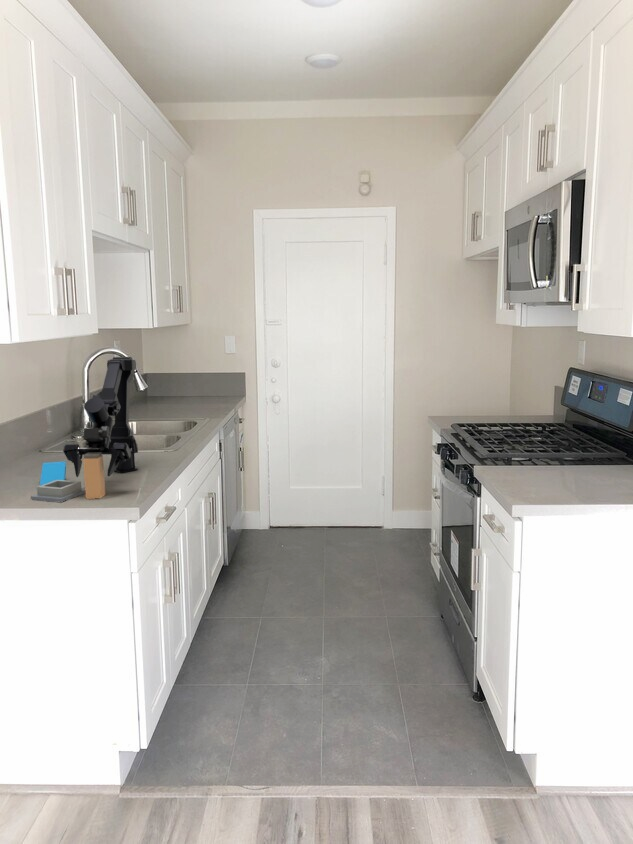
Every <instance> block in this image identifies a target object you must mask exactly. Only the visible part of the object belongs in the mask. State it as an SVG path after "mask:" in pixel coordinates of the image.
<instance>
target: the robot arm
mask: <svg viewBox="0 0 633 844" xmlns="http://www.w3.org/2000/svg"><path fill="white" fill-rule="evenodd" d="M106 367H107V368H106V374H105V377H104V381H103V385H102V389H101V391H100V392H98V393H97V394H96V395H95V394H94V395H92V397H91V398H89V399H88V400H87V401H86V402H85V403H84V405H83V407H84V411H85V412H86V414H87V417H88V419H89V421H90V422H91V423H92V427H89V428H87V427H86V428H83V440H85V445H86V446H88V447H81V446H80V444H79V443H66V444H65V445H64V446H63V449H62V450H63V451H62V452H63V454H64V455H65V457H66V459H67V461H69V462H71V463H72V464H73V466H74V473H75V477H76V478H79V476H80V473H81V469H82V463H83V457H84V455H85V454H87V453H89V452H102V455H103V456H107V455H108V456H109V455H110V460H109V463H108V464H109V465H108V469H107V477H110V476H112V474H113V473H114V472H117V473H120V474H122V473H127V472H133V471H137V470H138V469H139V468H137V467H136V463H135V462H136V461H135V460H136V459H135V454H137V453H139V447H138V443H137V440H136V438H135V436H134V431H133V430H132V428H131V426H130V424H129V419H130V418H129V417H130V415H129V414H130V412H129V411H130V383H131V381H132V380H133V378H134V377H135V373H136V372H135V371H136V369H137V362H136V359H133V357H132V356H113V357H112V358H111V359H108V360H107V362H106ZM112 417H114V419H113V418H112Z"/></svg>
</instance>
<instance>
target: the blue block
mask: <svg viewBox="0 0 633 844" xmlns="http://www.w3.org/2000/svg"><path fill="white" fill-rule="evenodd" d="M66 472H67V463H66V461H55V462H53V461H52V462H43V463H42V468H41V475H40V482H39V486H41V485H44V484H46V483H49V482H52V481H55V480H66V475H67V473H66Z"/></svg>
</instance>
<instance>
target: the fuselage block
mask: <svg viewBox="0 0 633 844" xmlns="http://www.w3.org/2000/svg"><path fill="white" fill-rule="evenodd" d="M82 463H83V475H84V488H85V491H86V493H85V499H86V500H87V499H88V500H90V499H91V500H92V499H93V500H96V499H95V498H100V499H103V498H104V496H106V483H105V471H104V455H102V452H89V453H87V454H85V455H83V458H82ZM100 499H99V500H100Z"/></svg>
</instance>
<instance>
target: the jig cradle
mask: <svg viewBox="0 0 633 844" xmlns="http://www.w3.org/2000/svg"><path fill="white" fill-rule="evenodd" d="M84 494H86V491H85V487H82V481H78V480H66V479H65V480H55V481H52V482H49V483H46V484H44V485H41V486H40V485H38V486H36V493H35V494H33V495H30V500H31V499H32V500H31V501H41V500H45V501H44V502H51V501H60V502H59V503H63V502H62V501H64V502H66V501H65V500H67V499H69V500H71V499H70V498H72V499H74V498H76V497H79V496H81V495H84ZM78 495H79V496H78ZM75 496H76V497H75ZM73 497H74V498H73ZM67 501H68V500H67Z"/></svg>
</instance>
